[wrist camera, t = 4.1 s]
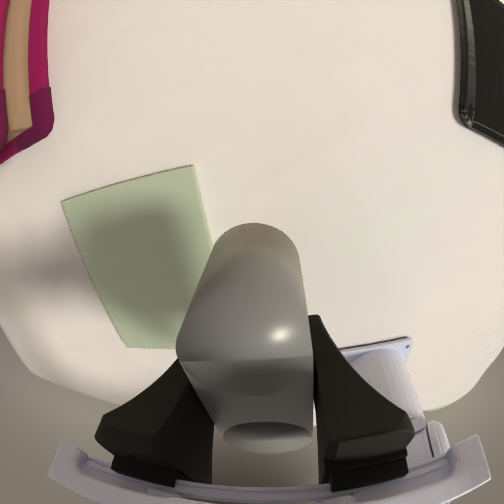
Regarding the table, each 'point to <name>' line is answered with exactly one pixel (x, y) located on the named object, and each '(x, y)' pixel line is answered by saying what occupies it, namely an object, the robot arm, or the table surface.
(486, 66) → the phone
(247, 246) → the cylinder
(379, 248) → the table surface
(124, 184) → the sage mat
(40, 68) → the book
